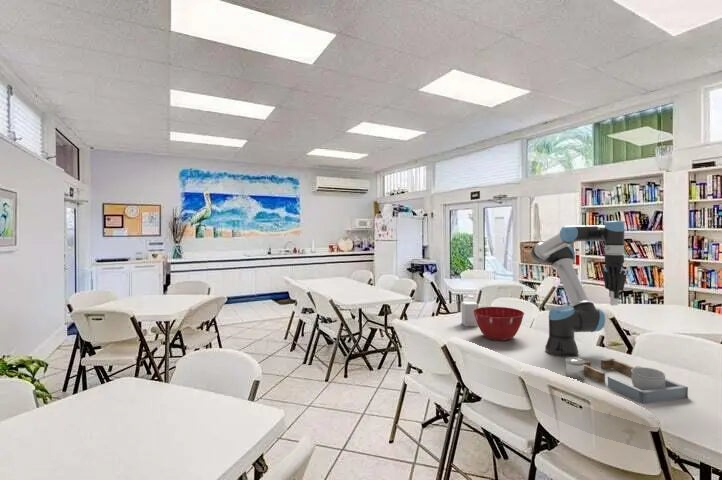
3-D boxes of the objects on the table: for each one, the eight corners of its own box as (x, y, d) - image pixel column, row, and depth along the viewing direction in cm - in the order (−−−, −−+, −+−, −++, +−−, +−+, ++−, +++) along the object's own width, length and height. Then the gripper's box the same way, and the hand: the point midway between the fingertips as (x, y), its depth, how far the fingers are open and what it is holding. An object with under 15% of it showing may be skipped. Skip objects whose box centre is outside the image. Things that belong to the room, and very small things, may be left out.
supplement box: (478, 326, 252) (478, 303, 252) (464, 326, 252) (464, 304, 252) (474, 323, 261) (474, 301, 261) (461, 323, 262) (461, 301, 261)
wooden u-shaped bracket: (576, 370, 173) (576, 362, 172) (612, 367, 176) (612, 358, 176) (601, 383, 159) (601, 373, 159) (640, 378, 163) (640, 369, 163)
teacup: (669, 399, 143) (670, 378, 143) (635, 395, 147) (635, 374, 147) (656, 385, 156) (657, 365, 156) (625, 381, 160) (625, 362, 160)
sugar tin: (561, 375, 168) (561, 357, 168) (575, 373, 169) (575, 356, 169) (573, 381, 161) (573, 363, 160) (589, 380, 162) (589, 362, 162)
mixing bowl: (493, 346, 209) (493, 318, 209) (463, 333, 236) (463, 308, 236) (535, 341, 218) (535, 314, 217) (502, 329, 245) (501, 305, 245)
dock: (607, 386, 155) (607, 376, 155) (648, 381, 159) (648, 372, 159) (643, 403, 140) (643, 392, 140) (687, 397, 144) (687, 387, 144)
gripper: (596, 253, 182) (595, 302, 183) (619, 255, 170) (619, 308, 170) (609, 253, 184) (609, 302, 185) (633, 255, 171) (633, 307, 172)
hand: (614, 305), depth 178 cm, fingers closed
